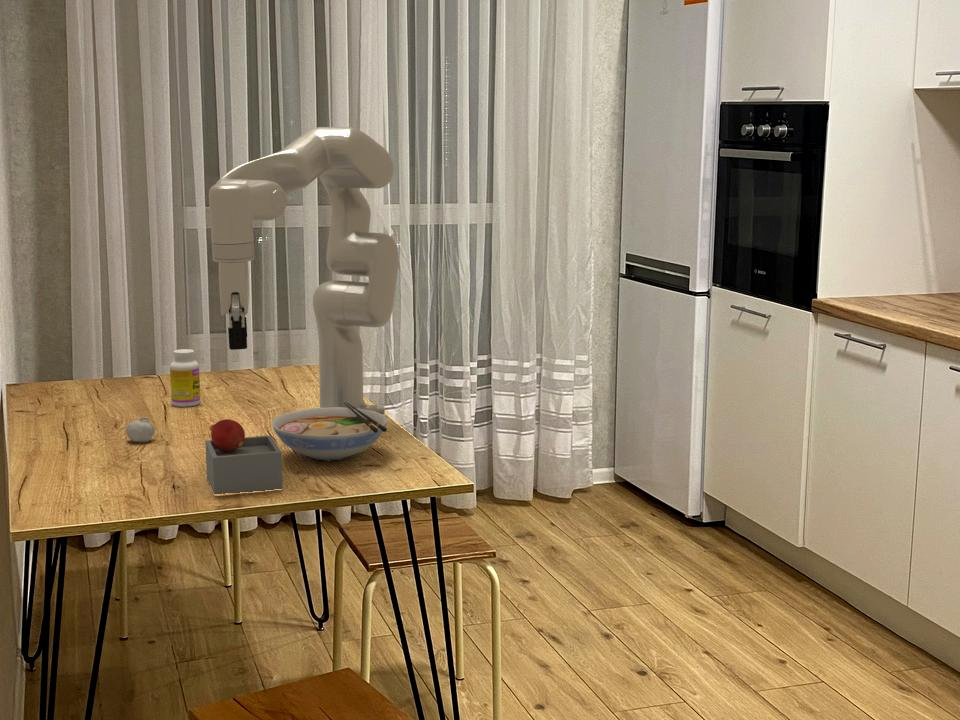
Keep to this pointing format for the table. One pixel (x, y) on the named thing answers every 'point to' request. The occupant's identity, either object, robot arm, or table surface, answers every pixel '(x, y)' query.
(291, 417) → the ramen bowl
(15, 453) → the table surface
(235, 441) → the onion
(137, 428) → the garlic
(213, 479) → the grey hollow box
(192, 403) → the supplement bottle
